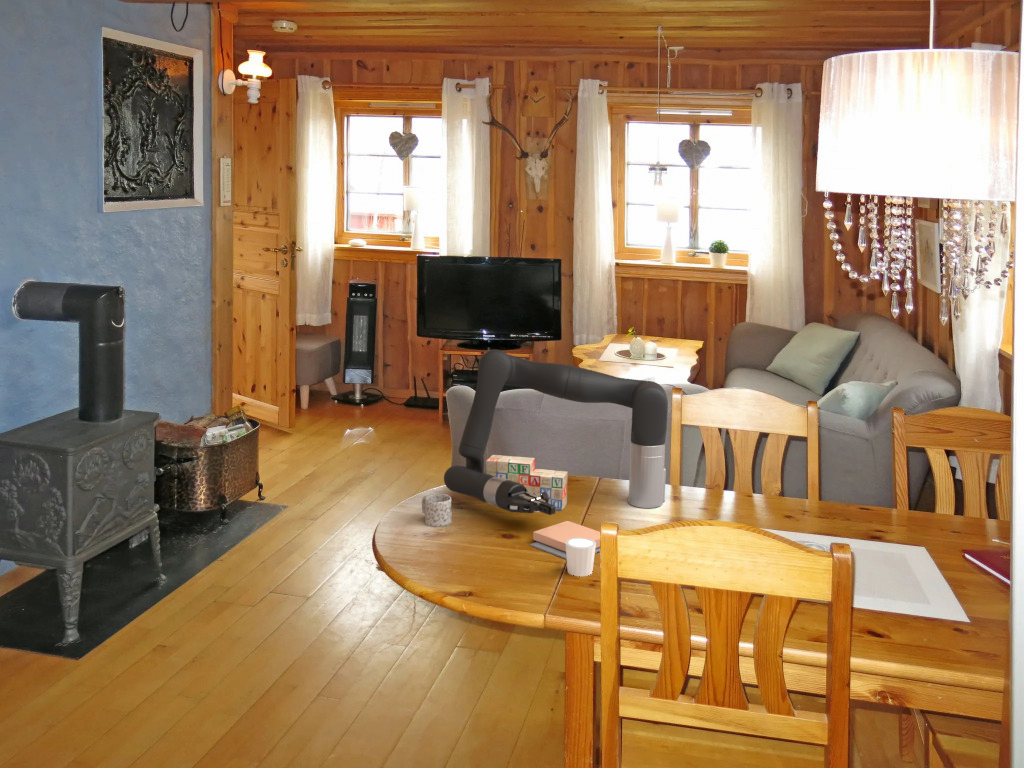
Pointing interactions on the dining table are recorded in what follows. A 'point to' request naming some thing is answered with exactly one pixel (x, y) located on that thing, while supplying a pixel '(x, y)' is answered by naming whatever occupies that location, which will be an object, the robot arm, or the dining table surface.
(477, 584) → the dining table surface
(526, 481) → the stack of blocks
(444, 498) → the mug
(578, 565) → the white cup
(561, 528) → the tile
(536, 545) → the mat
